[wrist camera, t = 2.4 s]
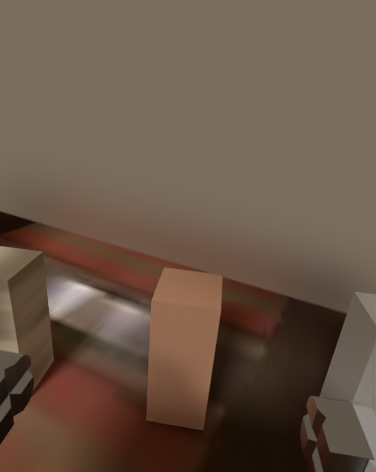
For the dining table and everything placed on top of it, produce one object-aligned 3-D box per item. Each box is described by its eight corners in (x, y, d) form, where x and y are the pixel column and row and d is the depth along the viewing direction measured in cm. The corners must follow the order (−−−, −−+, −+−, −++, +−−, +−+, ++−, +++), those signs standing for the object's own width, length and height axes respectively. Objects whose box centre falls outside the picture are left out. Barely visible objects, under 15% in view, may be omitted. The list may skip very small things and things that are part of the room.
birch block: (-27, 392, 26) (-56, 271, 22) (8, 352, 30) (-11, 244, 26) (26, 401, 26) (7, 280, 21) (54, 360, 30) (42, 251, 25)
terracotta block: (146, 420, 25) (151, 300, 21) (157, 375, 29) (164, 267, 25) (203, 430, 25) (221, 310, 20) (207, 383, 29) (222, 274, 24)
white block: (333, 451, 24) (380, 331, 20) (318, 400, 28) (354, 291, 24) (395, 461, 24) (457, 342, 19) (370, 408, 28) (417, 300, 23)
